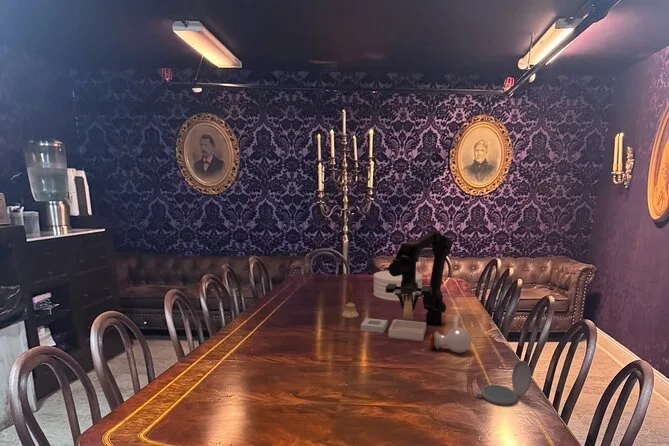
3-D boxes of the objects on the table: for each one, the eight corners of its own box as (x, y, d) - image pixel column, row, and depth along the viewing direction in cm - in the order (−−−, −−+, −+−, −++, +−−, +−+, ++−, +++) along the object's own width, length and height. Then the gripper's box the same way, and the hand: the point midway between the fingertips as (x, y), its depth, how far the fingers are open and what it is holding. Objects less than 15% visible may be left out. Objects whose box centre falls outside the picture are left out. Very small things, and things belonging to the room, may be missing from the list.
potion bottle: (473, 358, 155) (432, 358, 159) (471, 336, 162) (432, 336, 166) (472, 343, 149) (429, 344, 154) (470, 321, 156) (429, 322, 161)
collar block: (387, 325, 187) (387, 320, 187) (383, 332, 177) (383, 327, 177) (365, 323, 190) (365, 318, 190) (360, 330, 180) (360, 324, 180)
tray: (425, 330, 181) (426, 322, 181) (422, 341, 168) (423, 333, 167) (393, 327, 185) (393, 319, 185) (388, 337, 172) (388, 329, 172)
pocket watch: (535, 369, 117) (482, 369, 117) (533, 406, 118) (481, 407, 117) (518, 355, 127) (469, 355, 127) (517, 389, 128) (468, 390, 127)
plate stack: (365, 291, 250) (365, 272, 249) (403, 287, 262) (404, 269, 261) (390, 303, 225) (390, 282, 224) (431, 297, 237) (432, 277, 236)
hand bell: (357, 318, 197) (357, 285, 196) (340, 317, 199) (340, 284, 198) (359, 313, 206) (360, 281, 204) (343, 312, 207) (343, 280, 206)
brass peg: (413, 316, 177) (413, 293, 176) (412, 319, 173) (412, 295, 173) (403, 315, 178) (404, 292, 178) (402, 318, 175) (403, 295, 174)
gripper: (383, 275, 169) (382, 312, 171) (430, 278, 164) (429, 317, 165) (388, 270, 180) (387, 305, 181) (432, 273, 175) (431, 309, 176)
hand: (408, 309), depth 176 cm, fingers closed on brass peg, 4 cm apart
